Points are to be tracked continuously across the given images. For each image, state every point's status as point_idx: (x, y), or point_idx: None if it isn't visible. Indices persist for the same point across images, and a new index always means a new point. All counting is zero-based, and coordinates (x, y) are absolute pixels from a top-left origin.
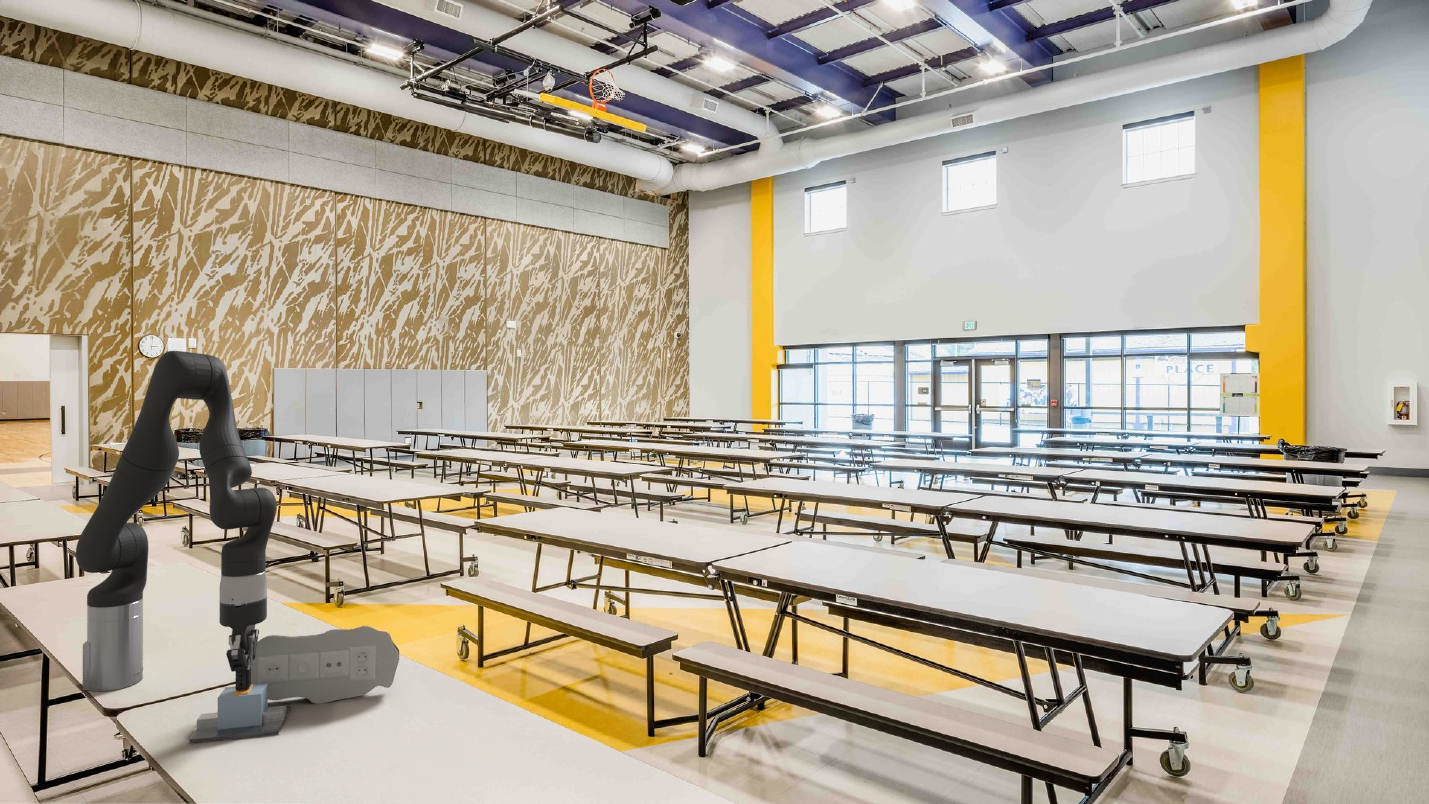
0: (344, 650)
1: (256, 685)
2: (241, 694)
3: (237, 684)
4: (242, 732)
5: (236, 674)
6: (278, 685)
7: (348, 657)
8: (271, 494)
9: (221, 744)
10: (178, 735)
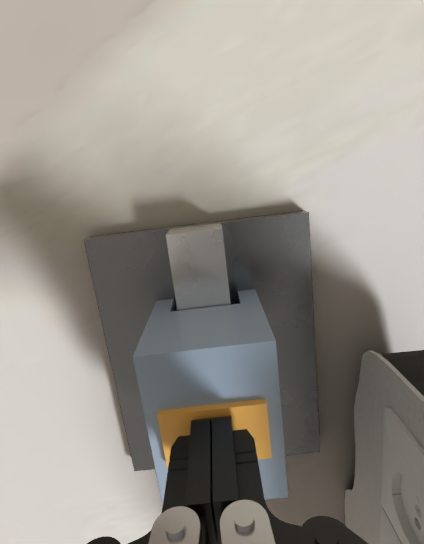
0: None
1: (270, 463)
2: (165, 440)
3: (171, 457)
4: (126, 382)
5: (187, 490)
6: (378, 460)
7: None
8: None
9: (82, 335)
10: (164, 168)
